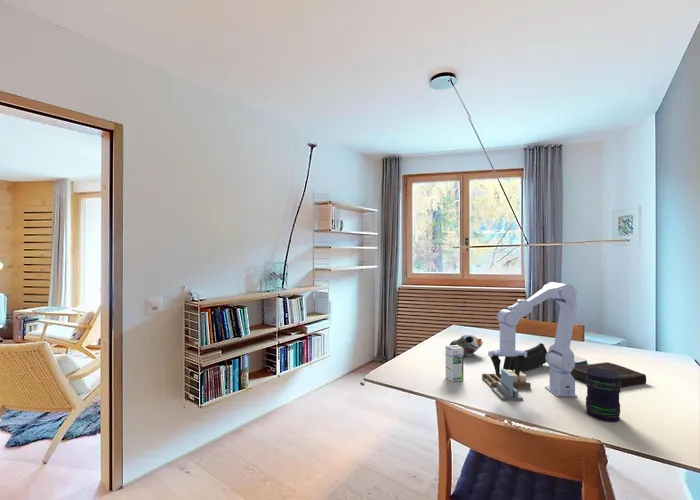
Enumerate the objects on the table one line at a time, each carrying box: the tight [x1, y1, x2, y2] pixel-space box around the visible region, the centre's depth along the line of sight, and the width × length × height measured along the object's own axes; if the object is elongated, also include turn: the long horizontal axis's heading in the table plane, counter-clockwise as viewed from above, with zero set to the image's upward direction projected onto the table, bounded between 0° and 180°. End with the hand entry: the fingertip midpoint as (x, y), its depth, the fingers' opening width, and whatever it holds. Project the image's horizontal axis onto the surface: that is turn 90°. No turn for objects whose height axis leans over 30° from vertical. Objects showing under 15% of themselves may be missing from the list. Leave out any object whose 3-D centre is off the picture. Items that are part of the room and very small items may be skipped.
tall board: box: [500, 368, 513, 397], centre depth 144 cm, size 8×1×8 cm, turn 0°
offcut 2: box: [513, 370, 527, 383], centre depth 156 cm, size 7×2×4 cm, turn 0°
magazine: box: [502, 342, 548, 373], centre depth 174 cm, size 17×3×30 cm
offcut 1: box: [507, 370, 518, 382], centre depth 156 cm, size 7×2×4 cm, turn 0°
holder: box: [491, 381, 524, 401], centre depth 144 cm, size 10×8×4 cm
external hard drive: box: [546, 348, 588, 365], centre depth 193 cm, size 24×12×2 cm, turn 26°
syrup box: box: [444, 344, 464, 383], centre depth 161 cm, size 6×6×14 cm
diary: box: [570, 361, 647, 389], centre depth 162 cm, size 19×25×5 cm
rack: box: [481, 373, 532, 390], centre depth 156 cm, size 11×16×2 cm
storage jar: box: [585, 368, 622, 423], centre depth 127 cm, size 10×10×15 cm
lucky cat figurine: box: [449, 334, 484, 358], centre depth 197 cm, size 15×12×14 cm
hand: (507, 374), depth 144 cm, fingers open, 7 cm apart
